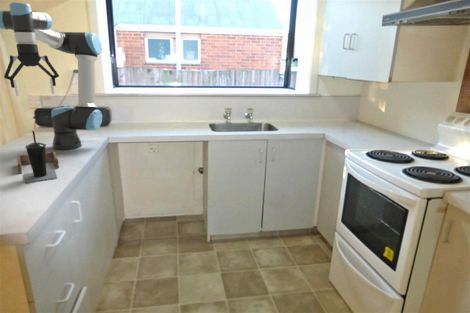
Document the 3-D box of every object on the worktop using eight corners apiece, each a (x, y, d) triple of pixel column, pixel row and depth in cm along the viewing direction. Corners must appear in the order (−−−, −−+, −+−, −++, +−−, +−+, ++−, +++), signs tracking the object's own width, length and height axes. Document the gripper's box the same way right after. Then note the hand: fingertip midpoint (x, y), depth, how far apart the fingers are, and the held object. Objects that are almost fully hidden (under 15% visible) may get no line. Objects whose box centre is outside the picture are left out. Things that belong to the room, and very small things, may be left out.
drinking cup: (53, 172, 147) (47, 129, 142) (44, 178, 140) (37, 133, 134) (36, 172, 147) (29, 129, 141) (26, 178, 140) (18, 133, 134)
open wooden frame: (56, 159, 167) (54, 151, 166) (58, 168, 155) (57, 159, 154) (19, 164, 159) (17, 155, 158) (19, 173, 147) (17, 164, 145)
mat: (54, 170, 152) (54, 169, 151) (57, 178, 142) (57, 177, 142) (24, 174, 145) (24, 173, 145) (24, 183, 136) (24, 182, 136)
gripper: (58, 44, 146) (65, 91, 152) (-10, 42, 133) (1, 95, 139) (61, 44, 140) (68, 93, 147) (-11, 42, 127) (1, 97, 133)
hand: (35, 94), depth 143 cm, fingers open, 13 cm apart
